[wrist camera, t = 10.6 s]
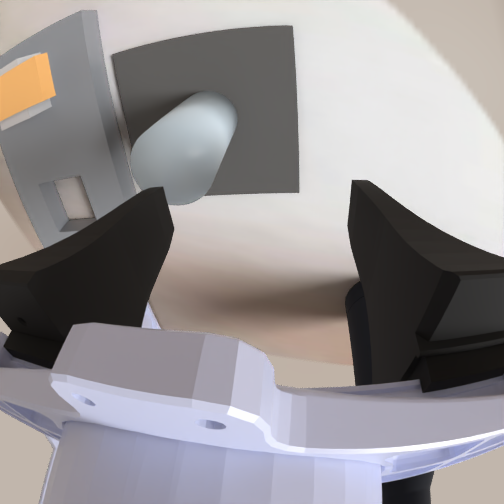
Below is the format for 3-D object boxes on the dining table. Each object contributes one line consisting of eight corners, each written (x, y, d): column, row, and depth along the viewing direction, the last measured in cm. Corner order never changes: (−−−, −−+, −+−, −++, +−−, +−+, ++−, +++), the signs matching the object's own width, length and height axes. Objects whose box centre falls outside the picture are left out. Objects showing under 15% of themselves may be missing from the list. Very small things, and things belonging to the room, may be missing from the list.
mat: (299, 190, 22) (299, 192, 22) (148, 197, 24) (146, 199, 23) (292, 25, 15) (292, 25, 14) (115, 54, 16) (112, 54, 16)
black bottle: (347, 321, 32) (354, 603, 9) (341, 281, 28) (351, 626, 5) (403, 310, 30) (434, 587, 7) (406, 268, 26) (454, 604, 3)
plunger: (78, 85, 16) (44, 100, 13) (-3, 122, 17) (-33, 140, 14) (71, 47, 14) (34, 55, 11) (-11, 91, 15) (-43, 107, 12)
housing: (149, 236, 26) (131, 271, 23) (55, 240, 28) (33, 269, 24) (96, 10, 14) (57, 11, 10) (-4, 64, 15) (-40, 78, 12)
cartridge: (238, 145, 20) (219, 205, 14) (182, 147, 20) (139, 206, 14) (236, 89, 18) (211, 120, 11) (176, 93, 18) (122, 129, 12)
